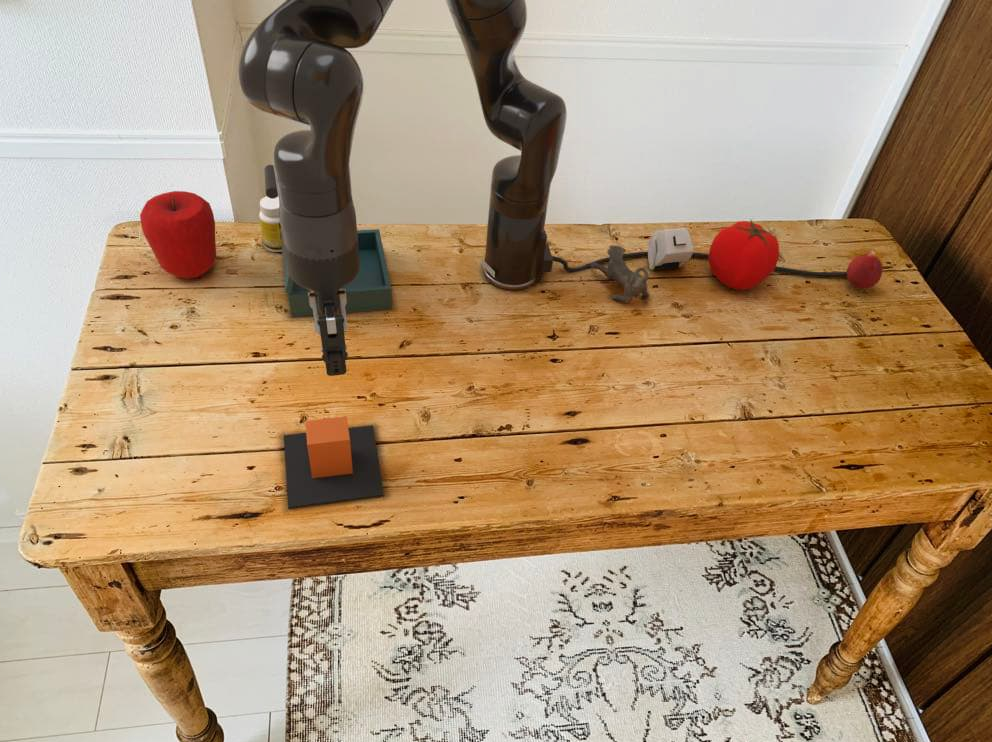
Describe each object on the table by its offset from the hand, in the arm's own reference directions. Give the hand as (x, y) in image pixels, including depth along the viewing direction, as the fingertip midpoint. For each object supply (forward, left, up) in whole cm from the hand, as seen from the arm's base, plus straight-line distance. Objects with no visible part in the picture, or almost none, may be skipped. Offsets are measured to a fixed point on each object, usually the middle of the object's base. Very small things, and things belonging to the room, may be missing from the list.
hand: (333, 347), depth 95 cm
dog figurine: (-49, -29, -20) cm, 61 cm away
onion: (-93, -24, -20) cm, 98 cm away
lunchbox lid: (+3, -36, -7) cm, 37 cm away
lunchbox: (-2, -36, -20) cm, 41 cm away
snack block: (+2, +2, -19) cm, 19 cm away
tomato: (-71, -29, -20) cm, 80 cm away
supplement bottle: (+7, -47, -20) cm, 51 cm away
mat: (+2, +2, -20) cm, 20 cm away
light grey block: (-59, -34, -20) cm, 71 cm away
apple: (+21, -42, -20) cm, 51 cm away
